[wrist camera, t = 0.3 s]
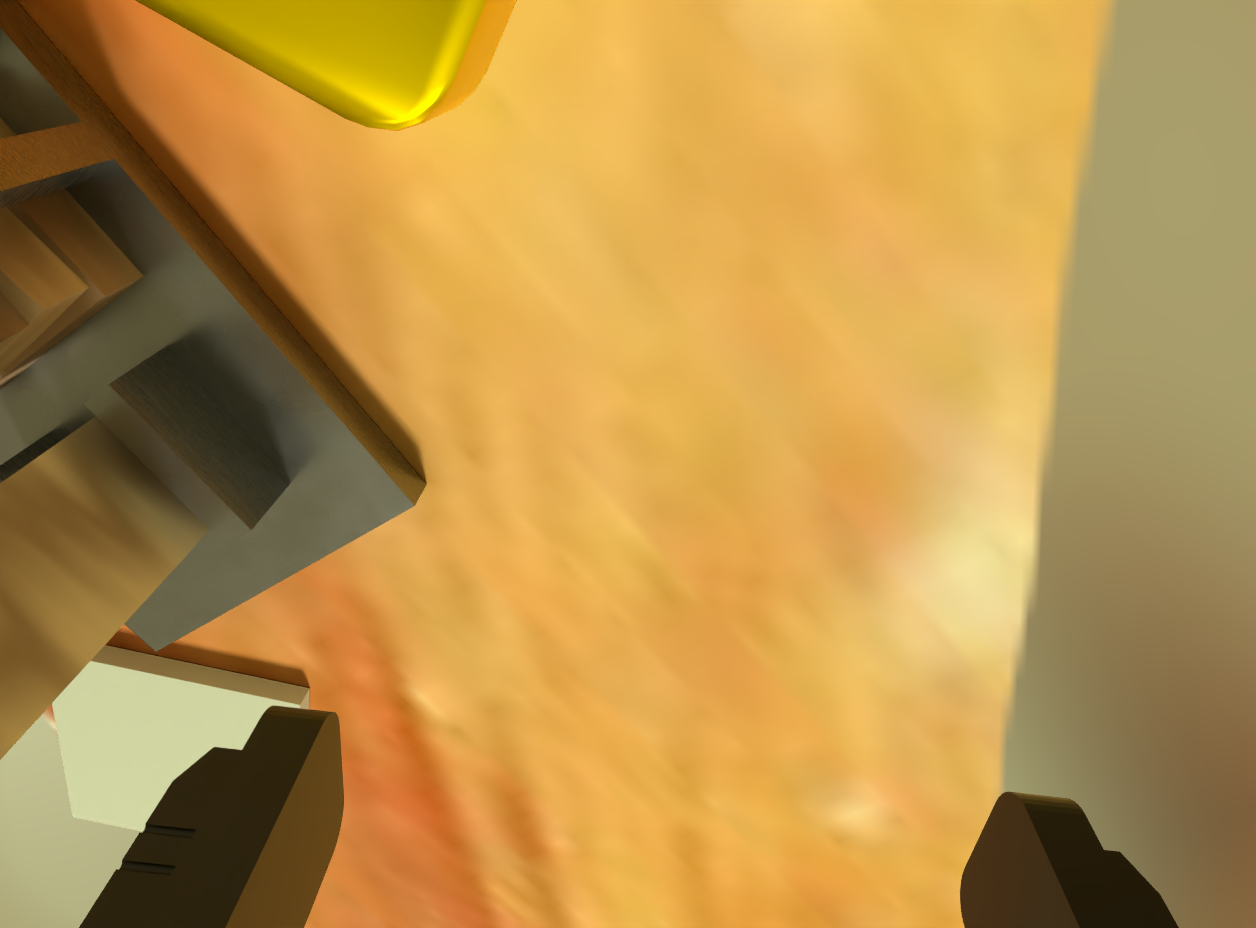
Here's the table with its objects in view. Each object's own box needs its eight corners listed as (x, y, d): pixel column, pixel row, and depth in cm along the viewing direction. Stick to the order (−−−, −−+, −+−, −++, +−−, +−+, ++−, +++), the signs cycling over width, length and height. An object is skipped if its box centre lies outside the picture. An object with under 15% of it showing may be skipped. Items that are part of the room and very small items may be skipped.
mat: (58, 634, 37) (42, 650, 36) (309, 688, 37) (300, 705, 36) (85, 800, 42) (72, 817, 41) (304, 844, 42) (296, 862, 42)
